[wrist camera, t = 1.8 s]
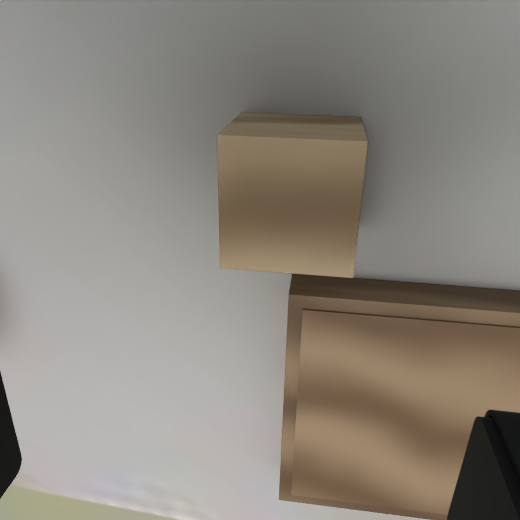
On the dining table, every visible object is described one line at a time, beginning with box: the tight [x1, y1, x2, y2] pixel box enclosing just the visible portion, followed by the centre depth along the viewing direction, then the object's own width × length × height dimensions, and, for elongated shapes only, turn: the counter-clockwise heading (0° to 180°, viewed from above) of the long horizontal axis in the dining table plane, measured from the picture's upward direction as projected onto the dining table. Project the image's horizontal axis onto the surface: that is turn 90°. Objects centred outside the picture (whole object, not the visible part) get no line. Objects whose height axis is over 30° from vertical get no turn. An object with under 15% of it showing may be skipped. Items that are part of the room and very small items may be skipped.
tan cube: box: [217, 113, 368, 278], centre depth 23 cm, size 6×6×6 cm
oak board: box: [279, 274, 520, 520], centre depth 30 cm, size 16×16×3 cm
